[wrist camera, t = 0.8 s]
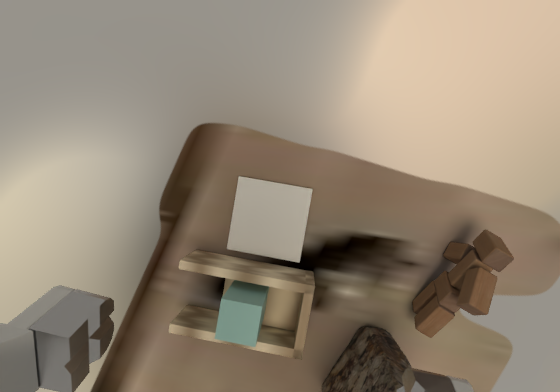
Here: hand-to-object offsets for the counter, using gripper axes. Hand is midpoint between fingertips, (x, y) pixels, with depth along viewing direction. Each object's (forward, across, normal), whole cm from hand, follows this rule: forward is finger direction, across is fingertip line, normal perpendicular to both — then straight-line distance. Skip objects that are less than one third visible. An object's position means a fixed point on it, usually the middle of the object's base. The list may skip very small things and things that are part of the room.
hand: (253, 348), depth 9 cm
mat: (+39, -3, -14) cm, 42 cm away
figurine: (+38, +23, -17) cm, 48 cm away
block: (+34, -3, -25) cm, 42 cm away
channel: (+36, -4, -25) cm, 44 cm away
